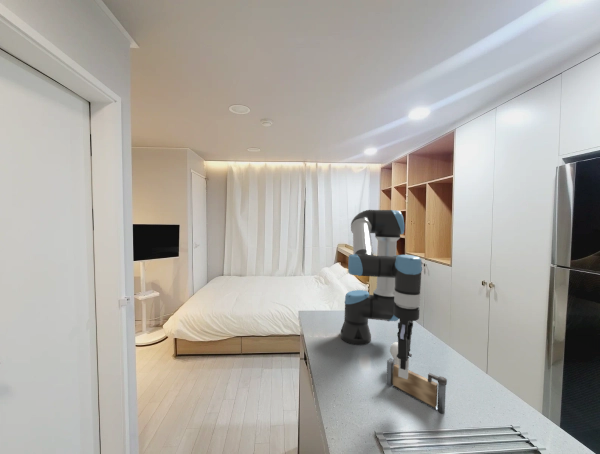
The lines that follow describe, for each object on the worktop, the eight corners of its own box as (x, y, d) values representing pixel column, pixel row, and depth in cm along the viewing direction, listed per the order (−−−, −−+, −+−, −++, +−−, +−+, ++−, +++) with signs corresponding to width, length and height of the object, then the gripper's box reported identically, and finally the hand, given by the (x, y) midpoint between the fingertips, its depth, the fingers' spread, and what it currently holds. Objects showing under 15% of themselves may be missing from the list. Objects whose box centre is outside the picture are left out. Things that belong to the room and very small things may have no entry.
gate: (392, 385, 88) (393, 358, 88) (395, 382, 90) (396, 356, 90) (443, 413, 76) (445, 382, 76) (446, 409, 77) (447, 379, 77)
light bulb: (406, 367, 101) (407, 340, 101) (407, 376, 95) (409, 348, 94) (389, 363, 103) (390, 337, 103) (389, 372, 97) (390, 345, 97)
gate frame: (386, 384, 90) (387, 360, 89) (390, 381, 92) (391, 357, 91) (443, 415, 76) (444, 386, 76) (446, 410, 78) (447, 382, 78)
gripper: (398, 296, 86) (395, 362, 87) (389, 308, 75) (386, 383, 76) (422, 301, 82) (418, 370, 83) (416, 314, 71) (412, 393, 72)
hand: (403, 376), depth 80 cm, fingers closed
